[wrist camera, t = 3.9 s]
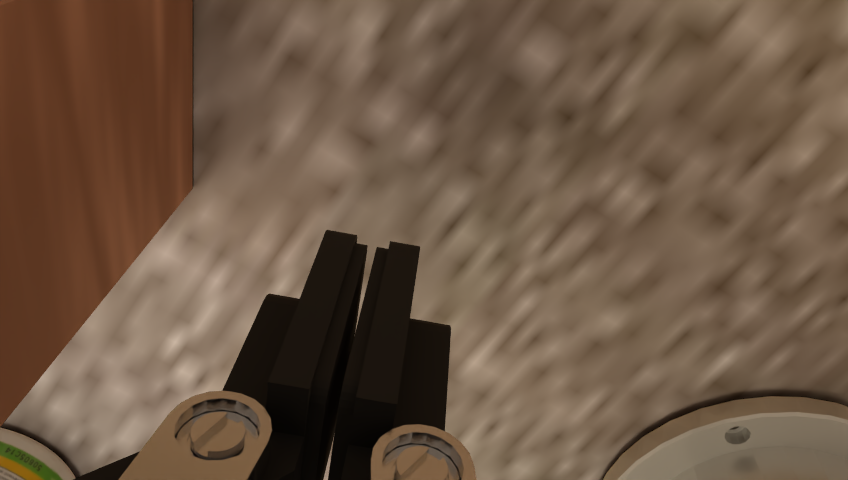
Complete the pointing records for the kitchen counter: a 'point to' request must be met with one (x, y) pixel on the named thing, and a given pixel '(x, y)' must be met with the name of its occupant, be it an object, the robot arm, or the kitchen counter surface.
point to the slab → (83, 161)
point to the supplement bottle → (29, 459)
